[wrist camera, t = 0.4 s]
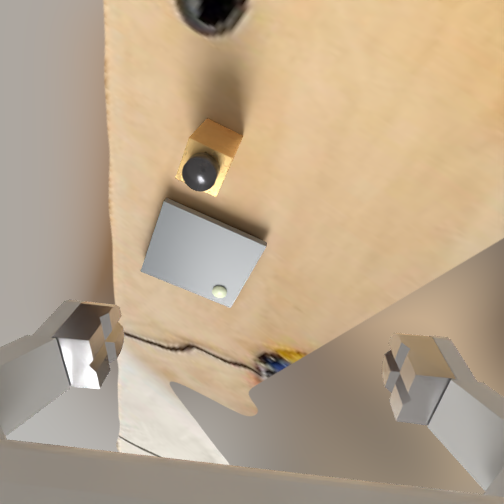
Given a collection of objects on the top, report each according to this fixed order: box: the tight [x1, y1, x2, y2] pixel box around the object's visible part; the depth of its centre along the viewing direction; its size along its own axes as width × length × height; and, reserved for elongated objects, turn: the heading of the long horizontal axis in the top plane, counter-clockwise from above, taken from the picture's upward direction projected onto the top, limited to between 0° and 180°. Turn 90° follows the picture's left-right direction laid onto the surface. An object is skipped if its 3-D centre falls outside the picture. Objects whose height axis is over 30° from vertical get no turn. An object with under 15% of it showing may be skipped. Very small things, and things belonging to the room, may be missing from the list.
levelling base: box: [141, 198, 267, 308], centre depth 54 cm, size 14×16×2 cm
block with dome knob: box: [176, 118, 243, 197], centre depth 40 cm, size 5×5×11 cm
